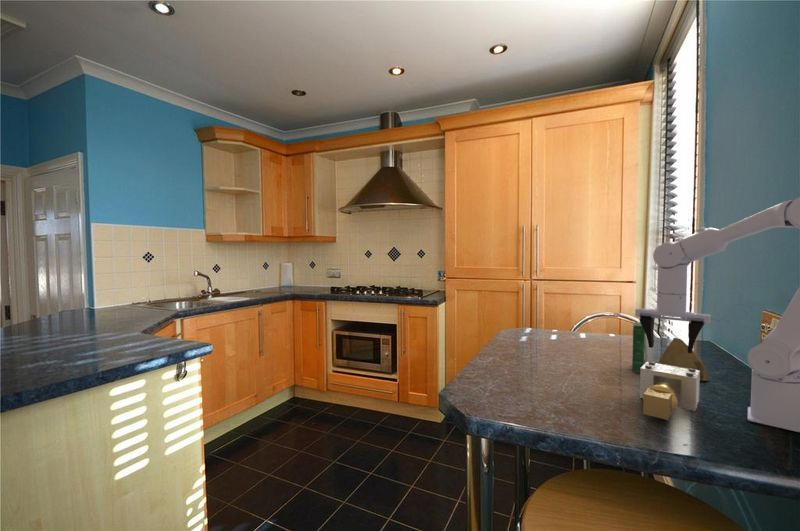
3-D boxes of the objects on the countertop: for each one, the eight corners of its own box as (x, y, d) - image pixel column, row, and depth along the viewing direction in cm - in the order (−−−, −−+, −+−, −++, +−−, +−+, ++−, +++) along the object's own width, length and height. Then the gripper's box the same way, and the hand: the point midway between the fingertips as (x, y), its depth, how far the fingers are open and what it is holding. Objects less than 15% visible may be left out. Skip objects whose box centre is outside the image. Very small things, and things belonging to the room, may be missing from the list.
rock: (723, 373, 96) (688, 357, 106) (710, 348, 95) (676, 334, 104) (690, 398, 96) (658, 380, 106) (676, 374, 94) (645, 358, 104)
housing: (698, 401, 84) (699, 368, 83) (695, 411, 78) (696, 376, 78) (646, 390, 90) (646, 360, 90) (639, 398, 85) (640, 366, 85)
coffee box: (633, 364, 111) (634, 321, 111) (645, 366, 109) (646, 322, 109) (631, 371, 105) (632, 325, 104) (643, 373, 103) (644, 326, 102)
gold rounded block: (650, 399, 83) (650, 374, 82) (681, 407, 79) (682, 380, 79) (638, 416, 74) (639, 388, 74) (672, 425, 70) (673, 396, 70)
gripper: (632, 292, 92) (631, 347, 92) (709, 297, 82) (707, 358, 82) (639, 290, 97) (637, 342, 97) (711, 294, 87) (710, 352, 87)
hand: (670, 349), depth 90 cm, fingers open, 7 cm apart
